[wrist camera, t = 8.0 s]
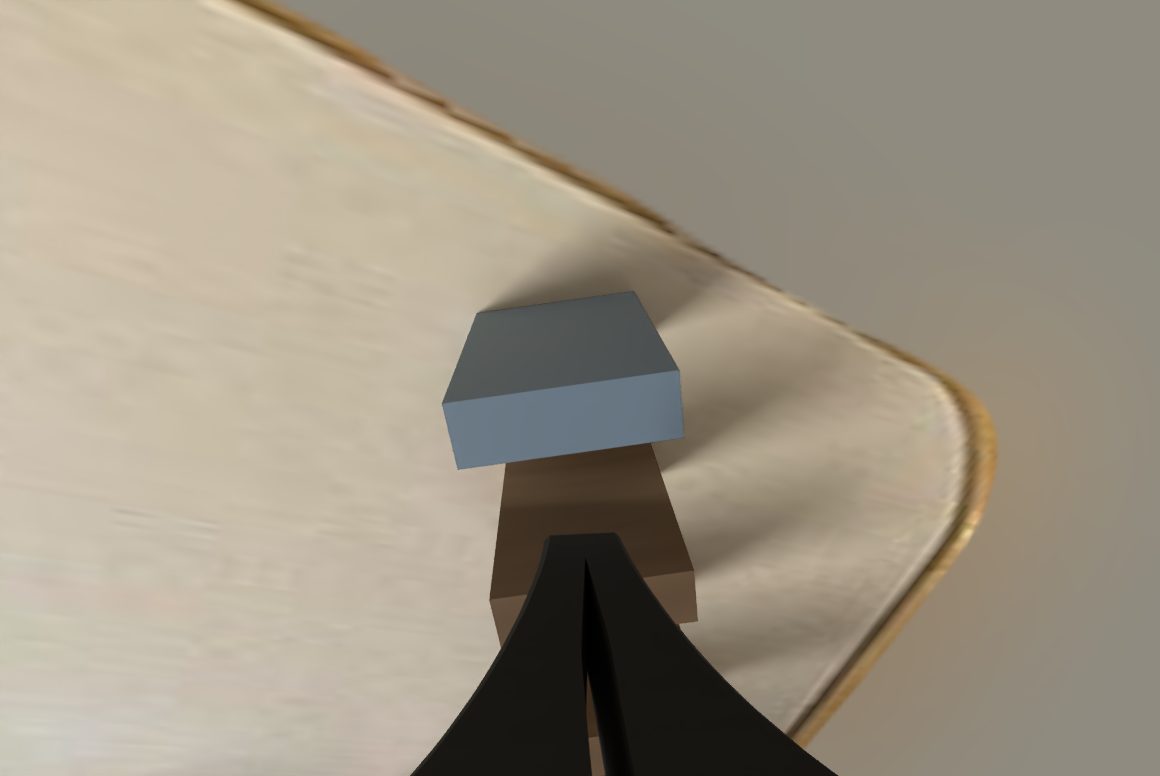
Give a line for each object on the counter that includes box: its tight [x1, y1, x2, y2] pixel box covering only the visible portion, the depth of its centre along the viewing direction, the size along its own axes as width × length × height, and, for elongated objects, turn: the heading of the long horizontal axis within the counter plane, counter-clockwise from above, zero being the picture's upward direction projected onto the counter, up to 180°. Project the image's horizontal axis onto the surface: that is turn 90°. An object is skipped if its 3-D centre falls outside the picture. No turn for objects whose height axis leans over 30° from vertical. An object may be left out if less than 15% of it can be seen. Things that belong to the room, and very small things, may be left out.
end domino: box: [442, 291, 684, 470], centre depth 16 cm, size 2×5×7 cm, turn 98°
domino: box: [489, 443, 698, 648], centre depth 18 cm, size 2×5×7 cm, turn 97°
